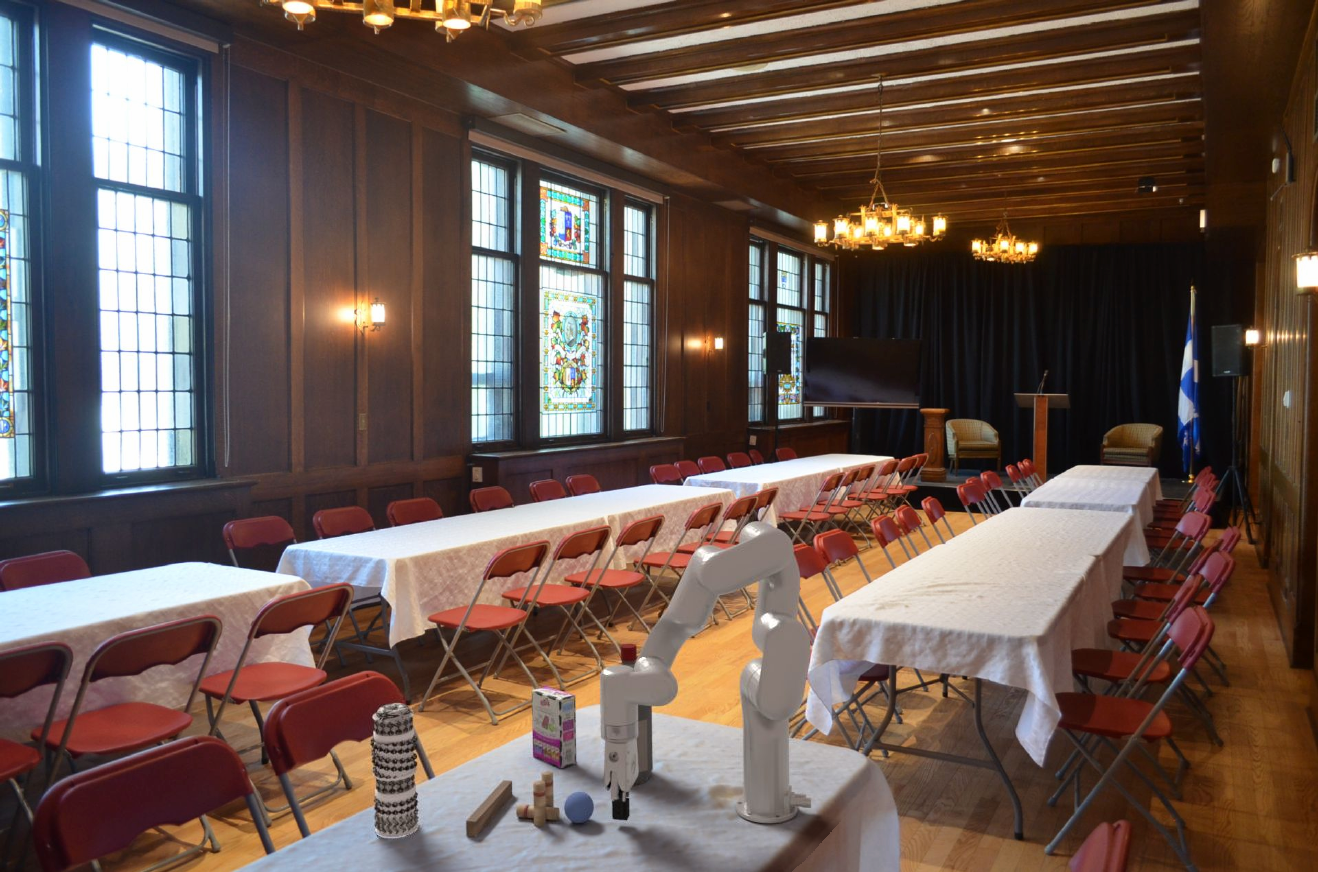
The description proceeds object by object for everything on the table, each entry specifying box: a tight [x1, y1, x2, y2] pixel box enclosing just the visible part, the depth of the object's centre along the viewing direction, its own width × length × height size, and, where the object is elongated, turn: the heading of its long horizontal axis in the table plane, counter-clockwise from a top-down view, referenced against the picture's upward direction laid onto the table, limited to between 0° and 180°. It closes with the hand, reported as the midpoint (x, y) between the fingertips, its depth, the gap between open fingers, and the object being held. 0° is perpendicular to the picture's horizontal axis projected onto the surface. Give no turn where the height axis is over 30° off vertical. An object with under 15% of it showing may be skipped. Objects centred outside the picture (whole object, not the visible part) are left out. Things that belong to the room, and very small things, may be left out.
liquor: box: [620, 643, 654, 786], centre depth 220 cm, size 9×9×30 cm
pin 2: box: [540, 770, 555, 807], centre depth 202 cm, size 2×2×8 cm
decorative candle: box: [370, 702, 420, 837], centre depth 196 cm, size 9×9×25 cm
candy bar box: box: [531, 685, 577, 769], centre depth 231 cm, size 11×5×16 cm, turn 45°
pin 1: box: [532, 780, 547, 828], centre depth 198 cm, size 2×2×8 cm
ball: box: [563, 791, 595, 824], centre depth 198 cm, size 6×6×6 cm
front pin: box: [515, 804, 561, 821], centre depth 200 cm, size 2×2×8 cm
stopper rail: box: [465, 779, 513, 837], centre depth 203 cm, size 2×20×3 cm, turn 168°
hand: (620, 817), depth 197 cm, fingers closed
